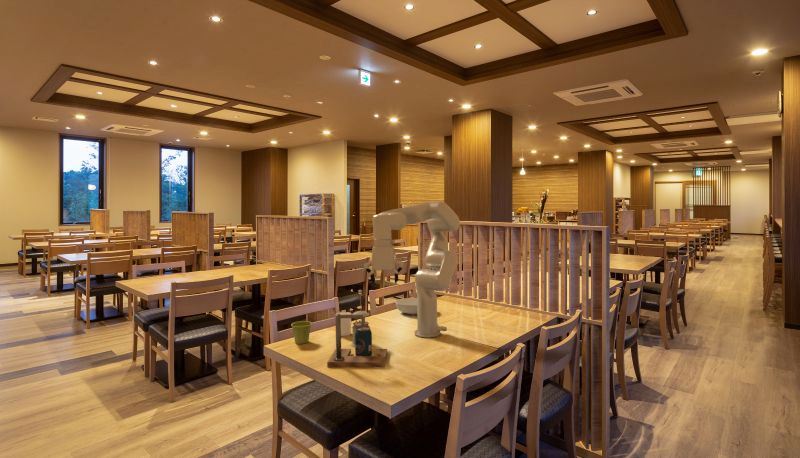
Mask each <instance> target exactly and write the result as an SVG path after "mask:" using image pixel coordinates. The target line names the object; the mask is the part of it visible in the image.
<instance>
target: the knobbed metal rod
mask: <svg viewBox="0 0 800 458" xmlns="http://www.w3.org/2000/svg"><path fill="white" fill-rule="evenodd" d="M341 318H351V319H360V320H361V322H362V325H365V322H366V317H363V315H352V314H351V315H340V314H336V313H335V314H334V319H335V320H334V321H335V349H336V357H334V361H342V360H344V357H342V356H341V349H342V336H341Z"/></svg>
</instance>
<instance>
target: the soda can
mask: <svg viewBox="0 0 800 458" xmlns="http://www.w3.org/2000/svg"><path fill="white" fill-rule="evenodd" d="M354 350H355V351H354V353H355V355H354V356H373V332H372V329H371V327H370V328H369V327H358V328H356V332H355V348H354Z"/></svg>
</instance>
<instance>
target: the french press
mask: <svg viewBox="0 0 800 458" xmlns="http://www.w3.org/2000/svg"><path fill="white" fill-rule="evenodd" d="M357 291H358V292H357V293H359V296H360V297H359V300H360V301H359V302H360V307H359V308H360V310H358V311H355V312H353V313H351V315H363V317H365V318H367V317H369V316H370V315H371V314H370V313H369V312H367V311H365V310H362V304H361V303H362V299H361V297H362V293H363V290H362V289H359V290H357ZM352 324H353V326H351V328H352V329H351V331H352V332H351V333H352V343H351V344H350V347H352V348H354V349H355V332H356V328H358V327H369V328H370V329H371V327H370V325H369V324H370V322H368V321H365V325H362V320H361V319H359V320H357V319H356V320H355V321H354V322H353V323H352Z"/></svg>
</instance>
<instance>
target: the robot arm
mask: <svg viewBox="0 0 800 458" xmlns="http://www.w3.org/2000/svg"><path fill="white" fill-rule="evenodd" d="M425 221H427V227H428V230H429V232H430V233H429V234H430V243H429V245H428V248H427V252H426V254H425V257H424V265H425V266H426V267H427V268H422V269H419V270H417V271H416V273H415V274H414V284H415V288H416V298H417V314H416V316H417V329H416V330H414V333H413V334H414V336H416V337H420V338H424V339H425V338H428V339H429V338H436V337H439V336H440V335H441V332H447V330H448V328H447V326H444V325H439V324H438V297H437V294H436V291H438V292H445V291H446V290H447V289H449V287H450V285H451V282H452V279H453V275H454V273H455V270H456V267H457V255H456V253H455V251H452V250H450V249H449V250H447V248H448V243H449V242H448V239H447V237H446V234H445V233H444V232H450V233H451V232H456V231H457V230H459V227H460V226H461V221H460V218H459V215H457V213H456V212H455V211H454V210H453V209H452V208H451V207H450V206H449V205H448V204H447V203H446V202H444V201H440V200H438V201H436V200H435V201H425V202H424V201H423V202H420V203H418V204H414V205H410V206H405V207H399V208H395V209H390V210H385V211H382V212H380V213H378V214H374V215H373V216H372V231H373V233H372V234H373V246H372V248H371V249H372V250H371V259H370V260H369V261H367V262H365V263H364V264H363V268H364V269H365V271H366V272H367V273H368V274H369V275H370V282H371V284H372V285H374V284H375V283H376V281H375V280H376V279H375V278H376V277H375V275H376V274H375V273H374V272H375V271H391V270H392V271H393V272H394V284H397V282H399V273H400V272H401V271H402V270H403V267H404V265H405V262H403V261H402V260H398V259H397V258H396V257H397V256H396V251H395V245H393V244H395V243H396V240H395V239H392V231H394V230H395V231H398V230H402V229H404V228H405V227H406V226H408V225H416V224H420V223H422V222H425ZM397 264H398V265H399V267H398V268H397ZM369 265H371V269H370V267H369Z"/></svg>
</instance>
